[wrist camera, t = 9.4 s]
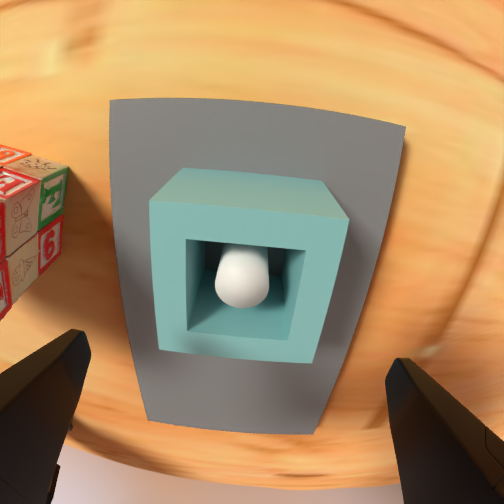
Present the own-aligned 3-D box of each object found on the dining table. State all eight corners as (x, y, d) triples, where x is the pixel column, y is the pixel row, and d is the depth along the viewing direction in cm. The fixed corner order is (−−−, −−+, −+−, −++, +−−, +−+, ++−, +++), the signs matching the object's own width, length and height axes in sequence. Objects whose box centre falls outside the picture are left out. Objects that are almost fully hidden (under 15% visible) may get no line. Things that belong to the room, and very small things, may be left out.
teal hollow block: (300, 297, 18) (311, 363, 13) (181, 286, 17) (159, 349, 13) (322, 181, 15) (349, 219, 10) (182, 167, 15) (148, 200, 10)
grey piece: (311, 420, 25) (318, 478, 20) (151, 407, 25) (136, 463, 20) (394, 123, 15) (455, 141, 9) (122, 99, 14) (58, 105, 9)
